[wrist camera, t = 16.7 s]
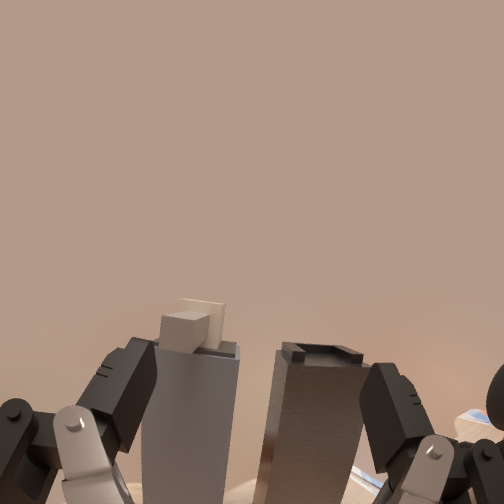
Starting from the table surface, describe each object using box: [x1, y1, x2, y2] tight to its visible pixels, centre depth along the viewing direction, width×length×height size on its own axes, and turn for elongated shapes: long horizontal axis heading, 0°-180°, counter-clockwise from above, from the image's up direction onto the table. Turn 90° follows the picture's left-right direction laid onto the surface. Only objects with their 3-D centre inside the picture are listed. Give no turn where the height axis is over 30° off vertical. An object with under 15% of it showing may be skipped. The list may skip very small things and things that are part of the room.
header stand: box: [253, 342, 372, 504], centre depth 32 cm, size 10×10×33 cm
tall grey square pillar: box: [141, 338, 240, 504], centre depth 31 cm, size 10×10×32 cm
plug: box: [158, 298, 226, 354], centre depth 29 cm, size 5×18×5 cm, turn 2°
